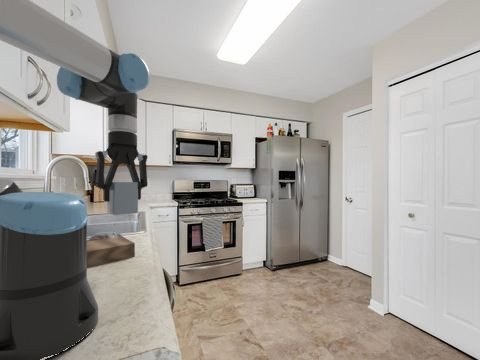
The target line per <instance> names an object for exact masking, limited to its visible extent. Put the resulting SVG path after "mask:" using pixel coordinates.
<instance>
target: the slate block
mask: <svg viewBox="0 0 480 360" xmlns="http://www.w3.org/2000/svg"><path fill="white" fill-rule="evenodd" d="M110 190H113V214H112V216H120V215H132V214H138V213H139V200H138V182H133V181H113V182H112V184H111V187H110Z"/></svg>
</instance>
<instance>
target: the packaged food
mask: <svg viewBox="0 0 480 360" xmlns="http://www.w3.org/2000/svg"><path fill="white" fill-rule="evenodd" d="M121 236H123V235H122V234H120V232H118V231H99V232H95V233H94V234H93V235H91V236H90V237H89V238H87V242H89V241H95V240H102V239H108V238H114V237H121Z"/></svg>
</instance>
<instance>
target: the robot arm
mask: <svg viewBox="0 0 480 360" xmlns="http://www.w3.org/2000/svg"><path fill="white" fill-rule="evenodd" d="M0 41H2V42H4V43H6V44H8V45H10V46H13V47H15V48H17V49H20V50H22V51H24V52H27V53H29V54H31V55H33V56H34V57H35V56H36V57H37V58H40V59H42V60H45V62H49V63H51V64H53V65H55V66H58V67H60V68H58V72H57V75H56V85H57V88H58V91H60V93H62V94H63V95H64V96H66V97H70V98H72V99H74V100H75V101H77V100H79V101H82V102H85V103H89V104H92V105H95V106H99V107H102V108H105V109H107V117H108V123H107V125H108V126H107V129H108V131H109V132H107V134H108V135H107V148H106V150H103V151H101V150H99V151H96V152H95V158H96V161H97V162H96V172H95V173H96V174H95V187H96V188H98V189H101V190H102V191H103V192H102V193H103V194H102V199H103V202H106V203H107V204H106V207H107V208H106V213H107V214H110V215H113V190H110V187H111V184H112V182H114V179H115V176H116V173H117V169H118V168H119V166H120V165H124V166H126V168H127V169H128V173H129V176H130V178H131V182H138V201H140V200H141V198H142V190H143V188H146V187H148V175H147V174H148V173H147V171H148V170H147V161H148V155H147V154H142V153H139V151H138V135H137V133H138V92H139V91H142V90H145V89H146V88H147V87H148V86H149V83H150V77H151V76H150V71H149V68H148V65H147V63H146V62H145V61H144V60H143V59H142V58H141V57H140V56H139V55H137V54H135V53H122V54H118V53H117V52H115V51H114V50H111V49H110V48H108V47H107V46H104V45H103V44H102V43H100V42H98V41H97V40H95V39H94V38H92V37H90V36H89V35H87V34H85V33H84V32H82V31H81V30H78V29H77V28H76V27H74V26H72V25H70V24H69V23H68V22H66V21H64V20H62V19H61V18H59V17H57V16H56V15H54V14H53V13H51V12H50V11H48V10H46V9H45V8H43V7H41V6H39V5H38V4H37V3H35V2H33V1H32V0H0ZM107 156H108V157H109V159H110V160H111V162H110V164H109V166H110V167H109V168H108V173H107V175H106V178H105V180H104V175H105V162H106V158H107ZM135 160H138V168H139V169H138V170H139V174H138V172H137V169H136V163H135ZM88 221H89V216H88V210H87V203H86V200H85V199H84V198H83V197H81V196H80V195H76V194H74V193H68V192H67V193H66V192H54V191H23V190H22V189H21V188H20V187H19V186H18V185H17V184H16V182H15V181H14V180H13V179H11V178H4V177H0V360H40V359H42V358H44V357H48V356H51V355H55V354H58V353H60V352H62V351H63V350H65V349H66V348H68V347H70V346H72V345H74V344H75V343H76V342H78V341H79V340H81V339H82V338H83V337H85V336H86V335H87V334H88V333H89V332H91V331H92V329H94V330H95V328H96V327H97V325H98V322H99V304H98V303H97V300H96V298H95V295H94V292H93V290H92V288H91V286H90V284H89V280H88V278H87V277H88V276H87V275H88V273H87V271H88V270H87V268H88V267H87V240H88ZM95 326H96V327H95ZM94 327H95V328H94ZM92 332H93V331H92ZM92 332H91V333H92ZM74 346H75V345H74ZM62 353H63V352H62ZM60 354H61V353H60ZM58 355H59V354H58Z"/></svg>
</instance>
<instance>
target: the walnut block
mask: <svg viewBox="0 0 480 360" xmlns="http://www.w3.org/2000/svg"><path fill="white" fill-rule="evenodd" d="M135 246H136V245H135V242H134V241H132V240H129V239H128V238H127V237H124V236H123V235H122V236H121V237H114V238H108V239H102V240H95V241H89V242H87V268H90V267H94V266H98V265H103V264H107V263H113V262H116V261H122V260H126V259H130V258H135V257H136V253H135V252H136V250H135V248H136V247H135Z"/></svg>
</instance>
